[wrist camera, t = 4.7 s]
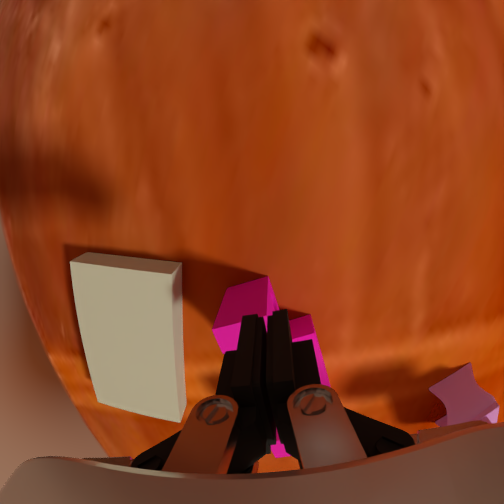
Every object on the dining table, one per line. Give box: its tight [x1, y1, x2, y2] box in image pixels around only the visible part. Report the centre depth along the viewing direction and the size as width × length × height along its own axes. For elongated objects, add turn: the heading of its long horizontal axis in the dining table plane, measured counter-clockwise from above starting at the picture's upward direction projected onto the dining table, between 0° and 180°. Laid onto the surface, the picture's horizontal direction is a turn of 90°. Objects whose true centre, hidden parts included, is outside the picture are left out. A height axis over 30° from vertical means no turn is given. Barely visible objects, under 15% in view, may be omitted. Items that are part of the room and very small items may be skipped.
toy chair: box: [429, 362, 499, 427], centre depth 22 cm, size 8×9×15 cm
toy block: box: [212, 276, 331, 458], centre depth 24 cm, size 15×6×8 cm, turn 19°
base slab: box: [70, 252, 186, 423], centre depth 27 cm, size 17×10×4 cm, turn 176°
